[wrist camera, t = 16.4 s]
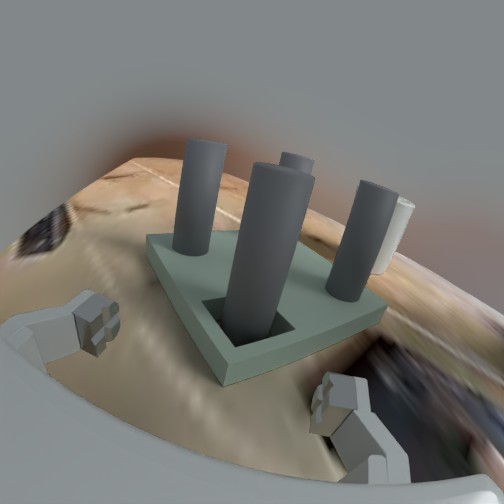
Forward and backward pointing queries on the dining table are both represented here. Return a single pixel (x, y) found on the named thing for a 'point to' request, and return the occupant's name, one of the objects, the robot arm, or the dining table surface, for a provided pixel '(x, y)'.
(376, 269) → the candle holder
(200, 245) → the stool seat
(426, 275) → the dining table surface
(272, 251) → the stool leg
